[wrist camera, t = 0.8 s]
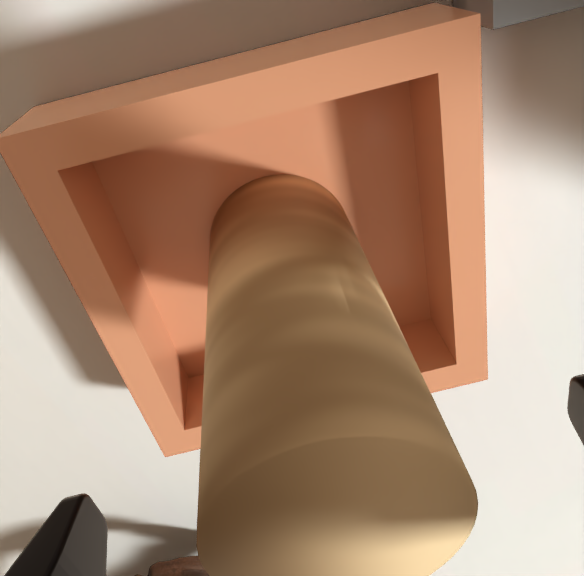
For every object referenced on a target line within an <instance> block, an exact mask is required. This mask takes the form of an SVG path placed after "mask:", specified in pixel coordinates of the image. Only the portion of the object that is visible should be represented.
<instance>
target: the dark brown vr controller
mask: <svg viewBox="0 0 584 576" xmlns="http://www.w3.org/2000/svg"><path fill="white" fill-rule="evenodd" d="M135 576H142V575H135ZM148 576H209V574H208V573H207V572H206V570H205V569H204V568H203V566H202V563H201V561H200V559H199V556H190V557H183V558H177V559H174V560H170V561H162V562H158V563H155V564H153V565H152V566H151V567H150V569H149V573H148Z"/></svg>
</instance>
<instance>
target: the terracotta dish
mask: <svg viewBox="0 0 584 576" xmlns="http://www.w3.org/2000/svg"><path fill="white" fill-rule="evenodd" d="M0 153H1V155H2V157H3V158H4V160H5V162H6V164H7V166H8V168H9V170H10V171H11V173H12V175H13V177H14V179H15V181H16V182H17V184H18V186H19V188H20V190H21V192H22V194H23V195H24V197H25V199H26V201H27V203H28V205H29V207H30V208H31V210H32V212H33V214H34V216H35V218H36V219H37V221H38V223H39V225H40V227H41V229H42V231H43V232H44V234H45V236H46V238H47V240H48V242H49V243H50V245H51V247H52V249H53V251H54V253H55V255H56V256H57V258H58V260H59V262H60V264H61V266H62V267H63V269H64V271H65V273H66V275H67V277H68V279H69V280H70V282H71V284H72V286H73V288H74V290H75V291H76V293H77V295H78V297H79V299H80V301H81V303H82V304H83V306H84V308H85V310H86V312H87V314H88V316H89V317H90V319H91V321H92V323H93V325H94V327H95V328H96V330H97V332H98V334H99V336H100V338H101V340H102V341H103V343H104V345H105V347H106V349H107V351H108V352H109V354H110V356H111V358H112V360H113V362H114V364H115V365H116V367H117V369H118V371H119V373H120V375H121V376H122V378H123V380H124V382H125V384H126V386H127V388H128V389H129V391H130V393H131V395H132V397H133V399H134V400H135V402H136V404H137V406H138V408H139V410H140V412H141V413H142V415H143V417H144V419H145V421H146V423H147V425H148V426H149V428H150V430H151V432H152V434H153V436H154V437H155V439H156V441H157V443H158V445H159V447H160V449H161V450H162V452H163V454H164V456H165V457H168V456H172V455H176V454H181V453H185V452H189V451H193V450H197V449H201V428H202V405H203V383H204V361H205V338H206V316H207V293H208V271H209V249H210V232H211V226H212V223H213V220H214V217H215V215H216V213H217V211H218V209H219V208H220V206H221V205H222V203H223V202H224V201H225V200H226V199H227V198H228V196H229V195H230V194H232V193H233V192H234V191H235V190H236V189H238V188H239V187H241V186H243V185H244V184H246V183H248V182H250V181H252V180H254V179H258V178H261V177H264V176H269V175H278V174H288V175H296V176H301V177H305V178H308V179H310V180H313V181H315V182H317V183H319V184H320V185H322V186H323V187H325V188H326V189H328V190H329V191H330V192H331V193H332V194H333V195H334V196H335V197H336V199H337V200H338V201H339V202H340V204H341V206H342V207H343V209H344V211H345V213H346V215H347V218H348V220H349V222H350V224H351V226H352V228H353V230H354V232H355V234H356V237H357V239H358V241H359V243H360V245H361V247H362V249H363V251H364V253H365V256H366V258H367V260H368V262H369V264H370V266H371V268H372V270H373V272H374V275H375V277H376V279H377V281H378V283H379V285H380V287H381V289H382V291H383V294H384V296H385V298H386V300H387V302H388V304H389V306H390V308H391V311H392V313H393V315H394V317H395V319H396V321H397V323H398V325H399V327H400V330H401V332H402V334H403V336H404V338H405V340H406V342H407V344H408V346H409V349H410V351H411V353H412V355H413V357H414V359H415V361H416V363H417V365H418V368H419V370H420V372H421V374H422V376H423V378H424V380H425V382H426V385H427V387H428V389H429V391H430V393H433V392H438V391H442V390H446V389H450V388H454V387H458V386H462V385H467V384H471V383H475V382H479V381H483V380H487V379H488V364H487V315H486V265H485V215H484V165H483V115H482V65H481V16H480V13H477V12H472V11H468V10H464V9H459V8H455V7H451V6H447V5H442V4H438V3H430V4H426V5H423V6H419V7H415V8H411V9H407V10H403V11H399V12H396V13H392V14H388V15H384V16H380V17H376V18H373V19H369V20H365V21H361V22H357V23H353V24H349V25H346V26H342V27H338V28H334V29H330V30H326V31H323V32H319V33H315V34H311V35H307V36H303V37H300V38H296V39H292V40H288V41H284V42H280V43H276V44H273V45H269V46H265V47H261V48H257V49H253V50H250V51H246V52H242V53H238V54H234V55H230V56H226V57H223V58H219V59H215V60H211V61H207V62H203V63H200V64H196V65H192V66H188V67H184V68H180V69H177V70H173V71H169V72H165V73H161V74H157V75H153V76H150V77H146V78H142V79H138V80H134V81H130V82H127V83H123V84H119V85H115V86H111V87H107V88H103V89H100V90H96V91H92V92H88V93H84V94H80V95H77V96H73V97H69V98H65V99H61V100H57V101H54V102H50V103H46V104H42V105H38V106H34V107H33V108H32V109H30V110H29V111H28V112H27V113H25V114H24V115H23V116H22V117H21V118H19V119H18V120H17V121H16V122H14V123H13V124H12V125H11V126H9V127H8V128H7V129H6V130H4V131H3V132H2V133H1V134H0Z"/></svg>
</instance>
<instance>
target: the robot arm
mask: <svg viewBox="0 0 584 576" xmlns="http://www.w3.org/2000/svg"><path fill="white" fill-rule="evenodd" d="M568 414H569V418H570V420H571V422H572V424H573V426H574V428H575V430H576V432H577V434H578V436H579V437H580V439H581V441H582V443H583V445H584V374H582V375H578V376H574V377H573V378H572V379H571V380H570V386H569V397H568ZM106 559H107V523H106V520H105V518H104V516H103V515H102V513H101V512H100V510H99V509H98V507H97V506H96V505H95V503H94V502H93V500H92V499H91V498H90V496H89V495H87V494H78V495H74V496H70V497H67V498H64V499H63V500H62V501H61V502H60V503H59V504H58V505H57V507H56V508H55V509H54V511H53V512H52V513H51V515H50V516H49V517H48V519H47V520H46V521H45V523H44V524H43V525H42V527H41V528H40V529H39V530H38V532H37V533H36V534H35V536H34V537H33V538H32V540H31V541H30V542H29V544H28V545H27V546H26V548H25V549H24V550H23V552H22V553H21V554H20V555H19V557H18V558H17V559H16V561H15V562H14V563H13V565H12V566H11V567H10V569H9V570H8V571H7V573H6V574H5V575H4V576H106Z"/></svg>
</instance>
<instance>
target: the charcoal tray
mask: <svg viewBox="0 0 584 576" xmlns="http://www.w3.org/2000/svg"><path fill="white" fill-rule="evenodd" d="M452 1H453V7H455V8H459V9H464V10H468V11H472V12H477V13H480V16H481V26H482V27H486V28H489V29H493V30H494V29H498V28H502V27H506V26H509V25H513V24H517V23H521V22H525V21H529V20H533V19H537V18H540V17H544V16H548V15H552V14H556V13H560V12H564V11H568V10H571V9H575V8H579V7H583V6H584V0H452Z"/></svg>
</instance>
